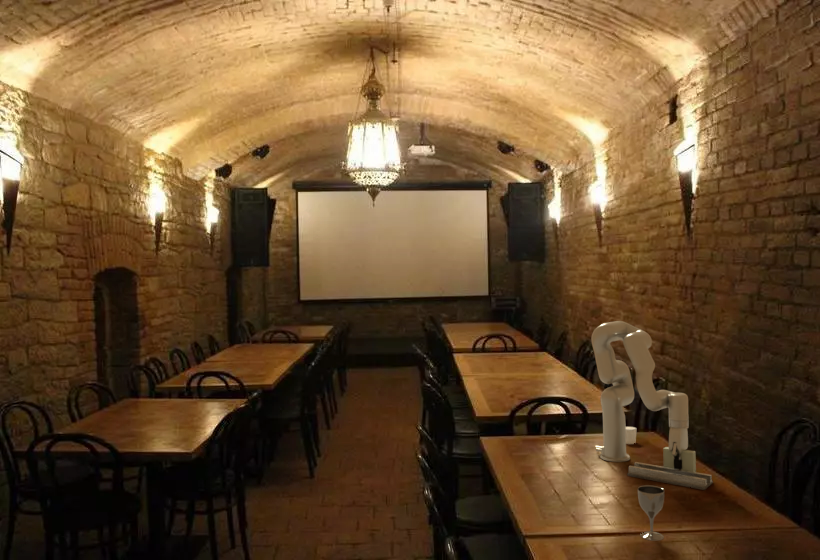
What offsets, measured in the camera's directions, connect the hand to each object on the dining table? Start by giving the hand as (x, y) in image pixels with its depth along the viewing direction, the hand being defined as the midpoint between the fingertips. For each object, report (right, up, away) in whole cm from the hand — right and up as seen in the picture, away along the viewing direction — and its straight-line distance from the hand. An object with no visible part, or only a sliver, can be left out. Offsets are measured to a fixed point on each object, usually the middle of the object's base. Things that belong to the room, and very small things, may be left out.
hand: (679, 467), depth 280 cm
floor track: (-8, -2, -9) cm, 12 cm away
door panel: (0, -2, 0) cm, 2 cm away
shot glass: (-6, -1, +46) cm, 46 cm away
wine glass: (-34, -5, -63) cm, 72 cm away
